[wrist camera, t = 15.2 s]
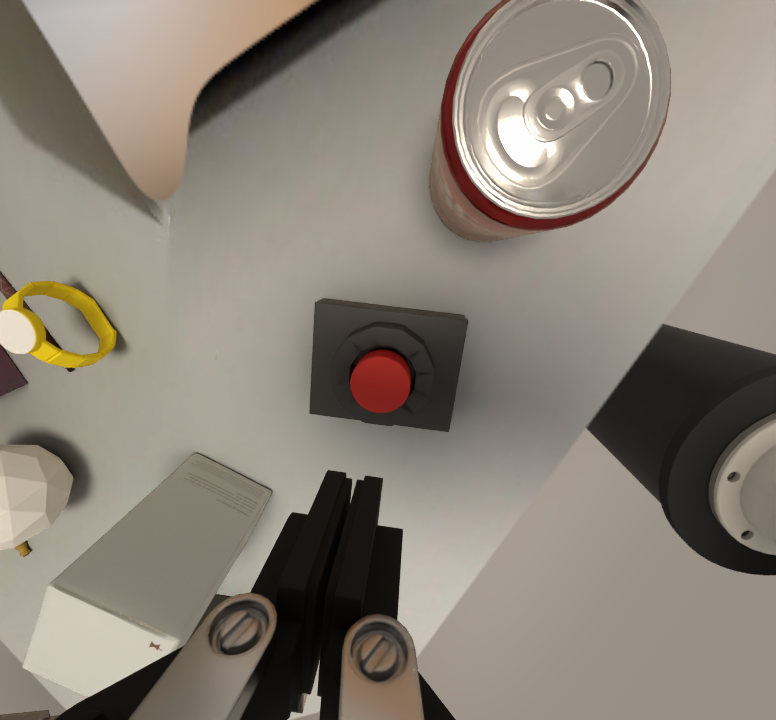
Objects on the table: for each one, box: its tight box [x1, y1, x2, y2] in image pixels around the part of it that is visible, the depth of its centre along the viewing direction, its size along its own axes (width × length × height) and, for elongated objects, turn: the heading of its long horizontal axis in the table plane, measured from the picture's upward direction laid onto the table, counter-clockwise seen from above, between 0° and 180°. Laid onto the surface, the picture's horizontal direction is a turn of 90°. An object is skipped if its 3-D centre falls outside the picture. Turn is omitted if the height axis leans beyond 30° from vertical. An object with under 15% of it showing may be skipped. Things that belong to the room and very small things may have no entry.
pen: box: [0, 272, 73, 372], centre depth 27 cm, size 11×1×1 cm, turn 29°
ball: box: [0, 445, 73, 550], centre depth 28 cm, size 8×8×8 cm
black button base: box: [309, 299, 468, 432], centre depth 25 cm, size 10×8×4 cm
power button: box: [350, 349, 411, 413], centre depth 22 cm, size 4×4×2 cm
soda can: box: [429, 0, 671, 242], centre depth 17 cm, size 7×7×12 cm
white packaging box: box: [22, 454, 272, 697], centre depth 25 cm, size 7×7×13 cm
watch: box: [0, 281, 117, 368], centre depth 24 cm, size 6×3×6 cm, turn 30°
